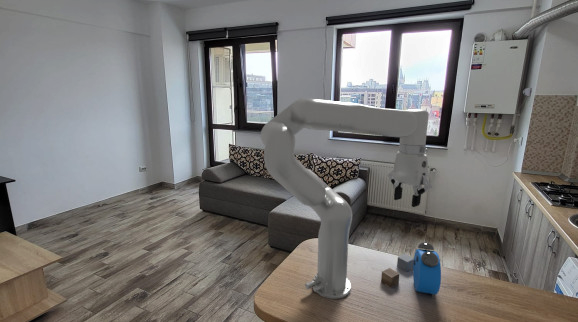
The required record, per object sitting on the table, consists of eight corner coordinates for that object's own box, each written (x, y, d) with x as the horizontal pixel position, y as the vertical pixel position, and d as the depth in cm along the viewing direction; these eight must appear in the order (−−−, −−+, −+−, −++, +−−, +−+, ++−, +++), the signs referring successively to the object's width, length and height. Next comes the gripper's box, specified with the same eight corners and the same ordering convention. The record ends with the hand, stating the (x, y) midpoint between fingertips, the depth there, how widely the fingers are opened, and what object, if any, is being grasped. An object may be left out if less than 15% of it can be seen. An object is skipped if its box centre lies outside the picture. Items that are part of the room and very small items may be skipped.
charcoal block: (406, 272, 105) (407, 262, 104) (396, 266, 108) (397, 256, 107) (413, 268, 107) (414, 258, 106) (403, 263, 110) (404, 253, 109)
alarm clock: (438, 304, 89) (444, 260, 85) (416, 300, 90) (421, 257, 87) (430, 278, 101) (435, 239, 98) (410, 275, 103) (415, 236, 99)
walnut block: (390, 288, 96) (391, 277, 95) (381, 281, 100) (381, 271, 99) (398, 284, 98) (399, 273, 97) (388, 277, 102) (389, 267, 101)
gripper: (445, 152, 87) (437, 209, 91) (396, 143, 101) (392, 192, 105) (429, 155, 83) (423, 214, 87) (381, 146, 97) (378, 196, 101)
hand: (406, 202), depth 96 cm, fingers open, 6 cm apart
